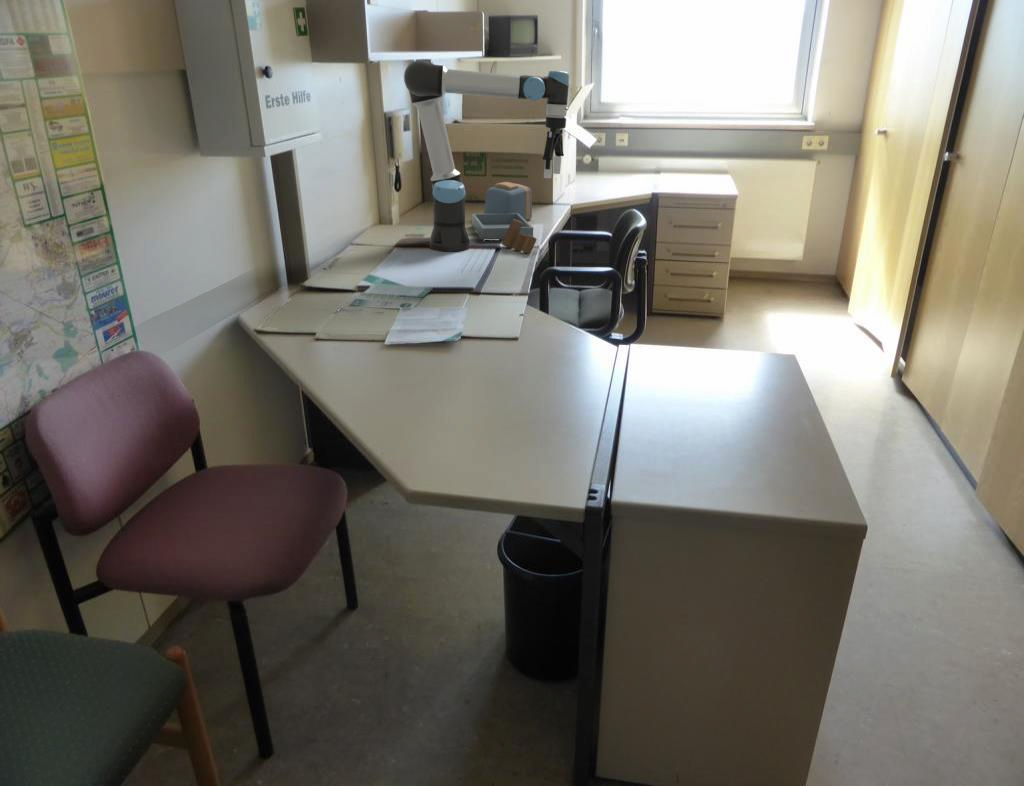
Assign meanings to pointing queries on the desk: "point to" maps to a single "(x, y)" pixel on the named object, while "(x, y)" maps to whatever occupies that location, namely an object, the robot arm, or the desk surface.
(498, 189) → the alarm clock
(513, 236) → the wooden block set
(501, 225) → the crate
